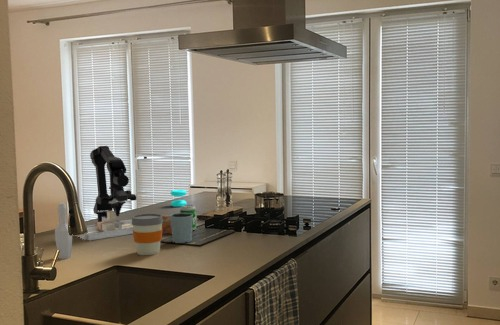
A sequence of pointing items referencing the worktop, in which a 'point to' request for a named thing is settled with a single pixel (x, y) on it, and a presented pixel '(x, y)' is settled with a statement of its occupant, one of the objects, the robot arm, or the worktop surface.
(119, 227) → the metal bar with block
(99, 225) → the salmon pink block
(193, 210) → the soda can
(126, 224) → the board
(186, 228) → the blue-grey cup
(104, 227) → the beige block
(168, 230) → the tin
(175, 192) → the pair of cyan domes
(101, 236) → the rails
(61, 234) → the faceted bottle
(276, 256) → the worktop surface
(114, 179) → the robot arm
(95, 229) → the box
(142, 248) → the reusable coffee cup
